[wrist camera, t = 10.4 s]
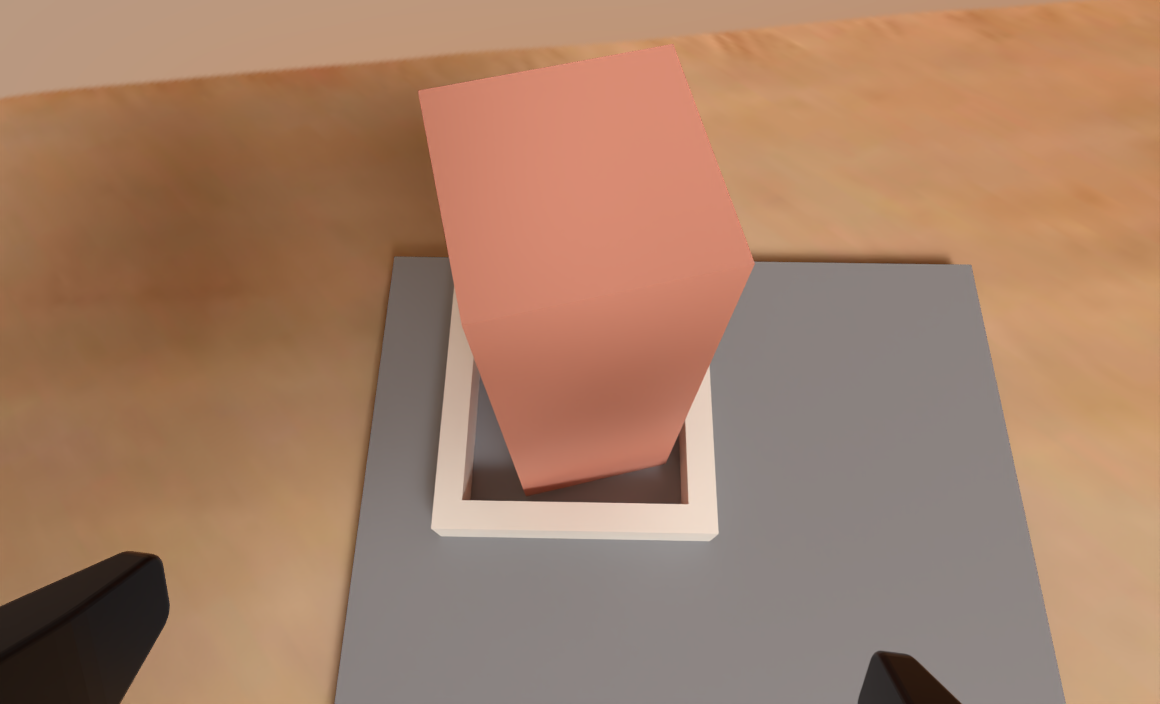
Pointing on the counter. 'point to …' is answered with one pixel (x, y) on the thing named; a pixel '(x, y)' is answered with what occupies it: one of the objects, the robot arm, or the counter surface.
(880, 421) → the grey base plate
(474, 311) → the red post
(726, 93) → the counter surface
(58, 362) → the counter surface
